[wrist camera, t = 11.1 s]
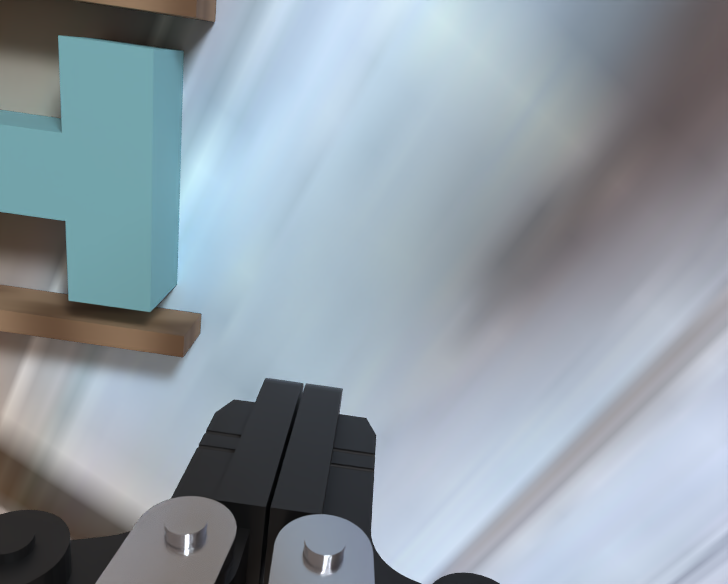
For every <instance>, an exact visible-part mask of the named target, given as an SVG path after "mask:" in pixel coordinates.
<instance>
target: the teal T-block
mask: <svg viewBox="0 0 728 584" xmlns="http://www.w3.org/2000/svg"><path fill="white" fill-rule="evenodd" d="M58 45H59V70H60V96H61V118H54V117H47V116H40V115H33V114H26V113H19V112H12V111H5V110H0V212H5V213H12V214H19V215H26V216H33V217H40V218H47V219H54V220H62V221H65V223H66V248H67V274H68V299H69V301H75V302H82V303H89V304H96V305H103V306H110V307H118V308H125V309H132V310H139V311H146V312H151V311H152V310H153V309H154V308H155V307H156V306H157V305H158V304H159V303H160V302H161V300H162V299H163V298H164V297H165V296H166V295H167V294H168V293H169V292H170V291H171V290H172V289H173V288H174V287H175V286H176V285H177V269H178V234H179V199H180V165H181V130H182V95H183V60H184V51H181V50H175V49H168V48H161V47H154V46H147V45H140V44H133V43H126V42H119V41H112V40H106V39H97V38H84V37H72V36H59V35H58Z"/></svg>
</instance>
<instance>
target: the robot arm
mask: <svg viewBox="0 0 728 584" xmlns="http://www.w3.org/2000/svg"><path fill="white" fill-rule="evenodd" d="M342 390H343V389H342V388H335V387H328V386H320V385H313V384H306V385H305V388H304V391H303V383H298V382H291V381H284V380H277V379H270V378H266V379H265V380H264V382H263V385H262V387H261V390H260V392H259V394H258V397H257V399H256V402H248V401H241V400H233V401H231V402H230V403H228V404H227V405H226V406H224V407H223V408H221V409H220V410H219V411H217V412H216V413H215V414H214V416H213V418H212V420H211V422H210V424H209V426H208V428H207V430H206V433H205V434H204V436H203V438H202V440H201V442H200V444H199V448H197V449H196V451H195V453H194V455H193V457H192V459H191V461H190V463H189V465H188V467H187V469H186V471H185V473H184V474H183V476H182V478H181V480H180V482H179V484H178V486H177V488H176V490H175V492H174V494H173V496H172V498H171V499H169V500H166V501H163V502H161V503H159V504H157V505H155V506H153V507H152V508H150V509H149V510H148V511H146V512H145V513H144V514H143V515H142V516H141V518H140V519H139V520H138V521H137V523H136V524H135V526H134V527H133V529H132V530H131V531H130V532H126V533H123V534H119V535H113V536H107V537H97V538H88V539H79V540H70V532H69V529H68V527H67V525H66V523H65V522H64V521H63V520H62V519H61V518H59V517H57V516H56V515H54V514H51V513H48V512H44V511H38V510H19V511H13V512H8V513H4V514H0V584H421V583H418V582H416V581H414V580H411V579H409V578H407V577H405V576H403V575H401V574H399V573H398V572H396V571H395V570H393V569H392V568H391V567H390V566H389V565H387V564H386V563H385V562H384V561H383V559H382V558H381V557H380V556H379V554H378V553H377V551H376V549H375V547H374V545H373V542H372V538H371V520H372V502H373V483H374V465H375V447H376V434H375V432H374V431H373V429H372V427H371V426H370V424H369V422H368V420H367V419H366V418H362V417H355V416H348V415H341V414H339V413H340V406H341V398H342ZM433 584H500V583H498V582H496V581H494V580H492V579H490V578H487V577H484V576H482V575H477V574H473V573H454V574H449V575H446V576H444V577H441V578H440V579H438V580H437V581H435V582H434V583H433Z"/></svg>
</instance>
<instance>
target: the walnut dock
mask: <svg viewBox="0 0 728 584" xmlns="http://www.w3.org/2000/svg"><path fill="white" fill-rule="evenodd" d="M70 1H77V2H84V3H90V4H97V5H104V6H110V7H117V8H124V9H131V10H137V11H144V12H151V13H158V14H164V15H171V16H178V17H184V18H191V19H198V20H205V21H211V22H215V14H216V0H70ZM200 328H201V314H199V313H192V312H185V311H178V310H171V309H164V308H158V307H155V308H154V309H153V310H152V311H151V312H146V311H139V310H132V309H125V308H118V307H110V306H103V305H96V304H89V303H82V302H75V301H69V299H68V294H61V293H54V292H47V291H40V290H33V289H26V288H19V287H12V286H5V285H0V331H4V332H11V333H18V334H25V335H32V336H39V337H46V338H53V339H60V340H67V341H74V342H81V343H87V344H94V345H101V346H108V347H115V348H122V349H129V350H136V351H143V352H150V353H157V354H164V355H171V356H178V357H184V356H185V354H186V353H187V351H188V350H189V348H190V347H191V346H192V344H193V343H194V341H195V340H196V339H197V337H198V336H199V334H200Z"/></svg>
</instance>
